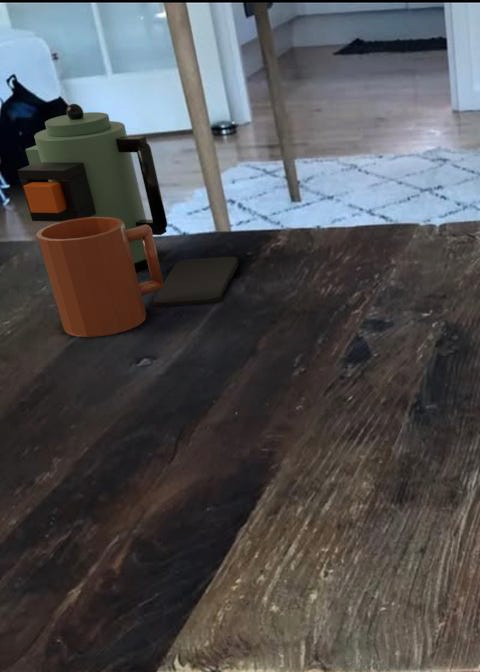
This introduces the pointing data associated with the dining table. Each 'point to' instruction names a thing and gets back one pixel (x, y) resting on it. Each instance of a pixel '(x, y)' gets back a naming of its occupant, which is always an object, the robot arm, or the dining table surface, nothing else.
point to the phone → (196, 281)
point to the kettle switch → (45, 197)
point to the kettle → (96, 173)
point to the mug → (97, 274)
